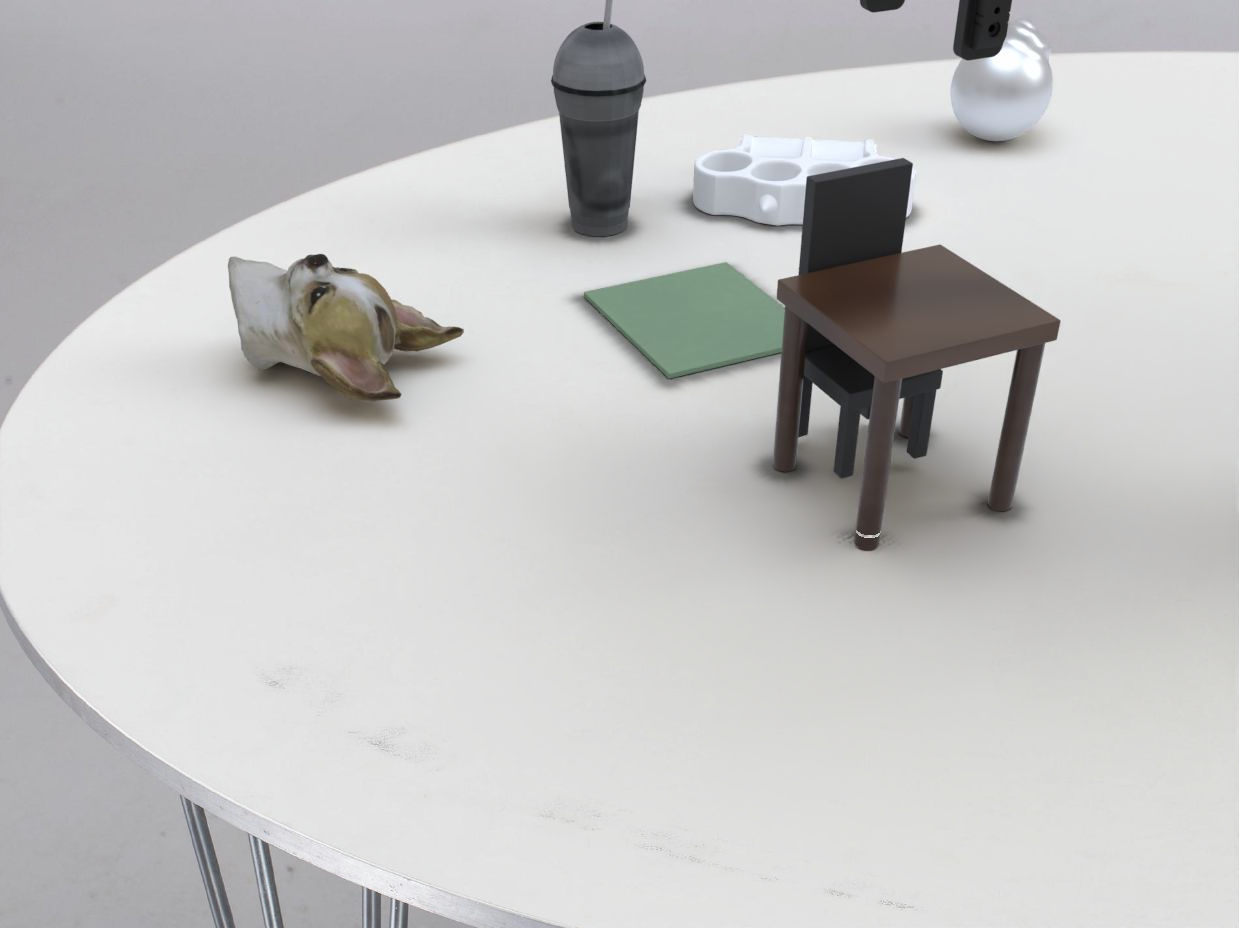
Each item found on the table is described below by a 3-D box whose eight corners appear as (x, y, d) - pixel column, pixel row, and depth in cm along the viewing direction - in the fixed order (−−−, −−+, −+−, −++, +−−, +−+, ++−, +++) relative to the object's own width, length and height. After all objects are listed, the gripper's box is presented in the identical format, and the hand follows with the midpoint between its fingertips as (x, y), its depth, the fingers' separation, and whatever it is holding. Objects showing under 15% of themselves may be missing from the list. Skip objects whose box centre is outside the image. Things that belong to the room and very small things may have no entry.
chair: (930, 456, 87) (971, 196, 77) (839, 481, 85) (869, 217, 75) (871, 409, 92) (903, 157, 82) (784, 431, 90) (806, 175, 80)
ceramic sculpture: (268, 203, 99) (466, 247, 95) (281, 318, 104) (468, 364, 100) (179, 267, 91) (390, 317, 87) (198, 387, 97) (397, 439, 93)
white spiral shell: (1067, 149, 129) (1090, 32, 123) (971, 160, 127) (989, 42, 121) (1018, 116, 136) (1038, 3, 129) (926, 126, 134) (941, 12, 127)
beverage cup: (572, 203, 121) (567, -56, 108) (655, 213, 119) (660, -49, 106) (541, 237, 115) (532, -32, 103) (628, 248, 113) (629, -24, 101)
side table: (1021, 508, 84) (1061, 319, 77) (861, 555, 81) (886, 362, 73) (914, 422, 92) (940, 243, 84) (763, 462, 89) (777, 279, 81)
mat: (822, 342, 101) (822, 337, 100) (668, 379, 97) (669, 373, 97) (726, 266, 111) (726, 261, 110) (583, 296, 107) (583, 291, 107)
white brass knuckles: (910, 172, 125) (911, 240, 114) (703, 162, 128) (685, 228, 116) (915, 133, 123) (917, 198, 112) (705, 124, 125) (686, 187, 114)
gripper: (1167, -377, 55) (1082, 64, 65) (961, -397, 65) (916, -14, 75) (998, -367, 53) (938, 87, 63) (814, -389, 63) (788, 3, 73)
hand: (926, 31), depth 69 cm, fingers open, 8 cm apart
